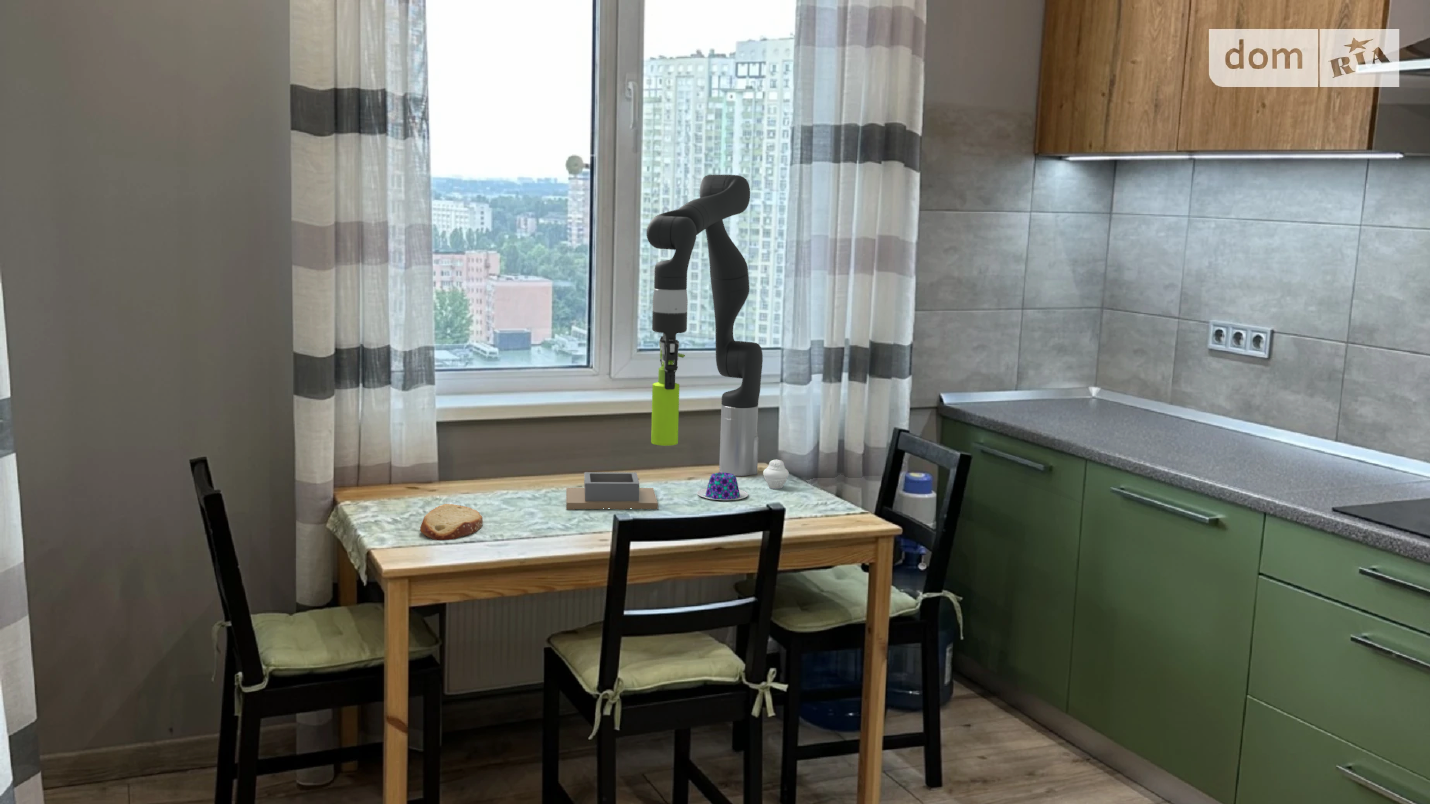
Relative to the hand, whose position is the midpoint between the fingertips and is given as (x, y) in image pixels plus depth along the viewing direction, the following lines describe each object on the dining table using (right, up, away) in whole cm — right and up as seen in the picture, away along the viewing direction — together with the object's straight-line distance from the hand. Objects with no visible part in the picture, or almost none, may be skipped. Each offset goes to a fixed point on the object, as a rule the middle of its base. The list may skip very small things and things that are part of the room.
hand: (668, 386), depth 269 cm
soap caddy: (-13, -26, +9) cm, 30 cm away
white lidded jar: (+25, -24, +28) cm, 44 cm away
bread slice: (-45, -29, -14) cm, 55 cm away
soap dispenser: (0, -13, +2) cm, 13 cm away
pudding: (+12, -26, +18) cm, 34 cm away
